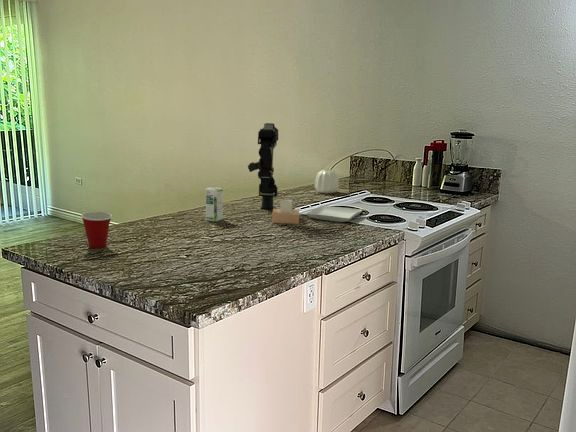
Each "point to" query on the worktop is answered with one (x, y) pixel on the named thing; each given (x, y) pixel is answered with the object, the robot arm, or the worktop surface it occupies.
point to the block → (286, 206)
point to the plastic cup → (96, 228)
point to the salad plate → (333, 213)
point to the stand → (285, 216)
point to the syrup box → (214, 204)
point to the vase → (326, 181)
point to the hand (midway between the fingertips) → (265, 189)
